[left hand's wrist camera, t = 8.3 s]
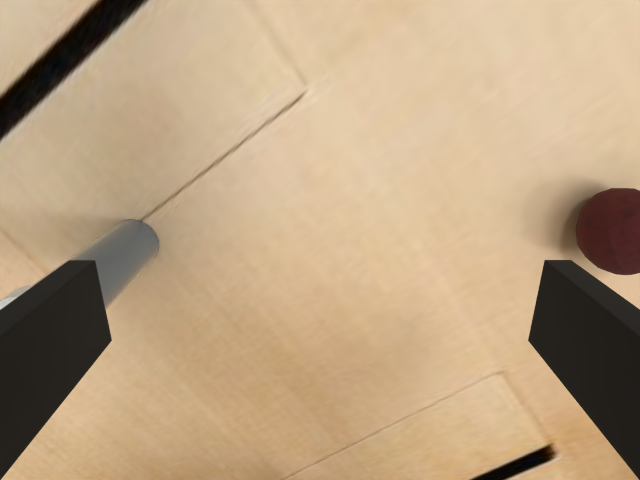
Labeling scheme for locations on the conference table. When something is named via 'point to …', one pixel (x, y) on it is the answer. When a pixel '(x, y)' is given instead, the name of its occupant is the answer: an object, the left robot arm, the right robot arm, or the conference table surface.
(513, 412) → the conference table surface
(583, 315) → the left robot arm
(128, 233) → the blue-grey bottle
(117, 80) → the conference table surface
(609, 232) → the dark brown ball
